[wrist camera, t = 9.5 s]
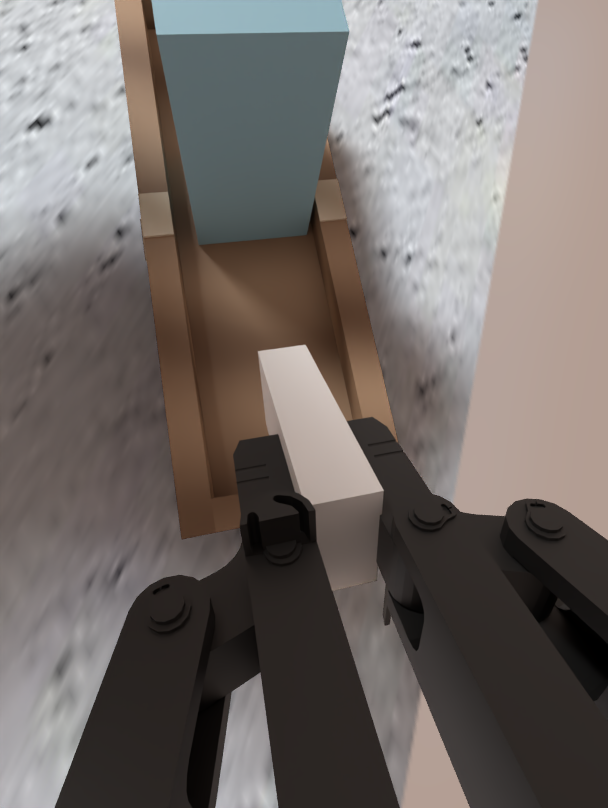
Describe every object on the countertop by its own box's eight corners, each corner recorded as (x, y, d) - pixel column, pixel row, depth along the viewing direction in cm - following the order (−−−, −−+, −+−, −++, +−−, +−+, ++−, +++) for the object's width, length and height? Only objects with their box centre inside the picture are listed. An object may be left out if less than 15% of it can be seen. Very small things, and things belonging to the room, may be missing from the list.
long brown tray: (371, 495, 23) (418, 492, 16) (195, 529, 21) (172, 541, 15) (285, 94, 28) (295, -27, 22) (139, 101, 27) (104, -27, 20)
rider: (306, 234, 20) (349, 31, 11) (198, 244, 19) (156, 34, 11) (288, 145, 21) (314, -105, 12) (184, 151, 20) (135, -111, 12)
